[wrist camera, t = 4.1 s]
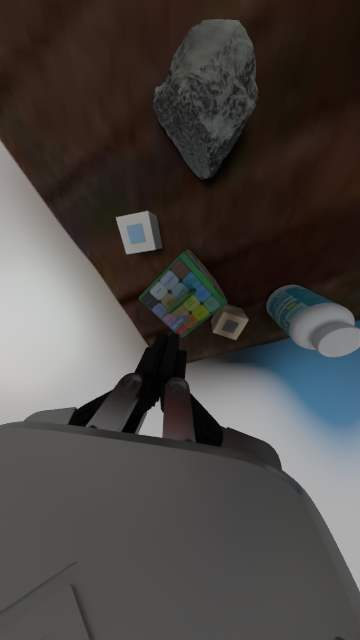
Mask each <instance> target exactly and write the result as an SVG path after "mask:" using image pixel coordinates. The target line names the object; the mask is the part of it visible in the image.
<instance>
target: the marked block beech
mask: <svg viewBox="0 0 360 640" xmlns="http://www.w3.org/2000/svg"><path fill="white" fill-rule="evenodd" d="M248 320H249V319H248V318H247V316H246V315H245V313H244V312H243V310H242V309H241V308H238V307H235V306H232V305H229V304H226V305H225V306H224V307H222V308H221V309H220V310H218V311H217V312H216V313H215V314H214V316H213V318H212V320H211V324H212V330H213V333H216V334H219V335H222V336H225V337H228V338H231V339H235V340H236V339H237V337H238V336H239V334H240V333H241V331H242V330H243V328H244V326H245V325H246V323H247V322H248Z"/></svg>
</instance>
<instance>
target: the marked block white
mask: <svg viewBox="0 0 360 640" xmlns="http://www.w3.org/2000/svg"><path fill="white" fill-rule="evenodd" d="M116 220H117V223H118V226H119V230H120V233H121V237H122V240H123V244H124V247H125V251H126V254H131V253H138V252H144V251H150V250H156V249H161V248H162V243H161V238H160V232H159V227H158V221H157V216H156V215H154V214H152V213H151V212H149V211H145V212H140V213H135V214H131V215H126V216H121V217H116Z"/></svg>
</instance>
